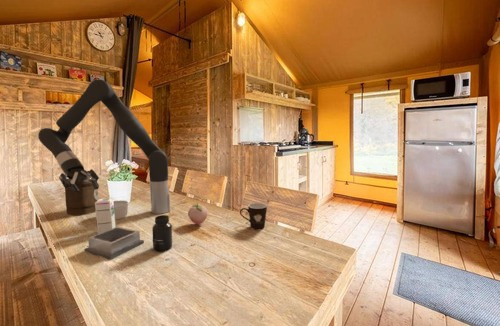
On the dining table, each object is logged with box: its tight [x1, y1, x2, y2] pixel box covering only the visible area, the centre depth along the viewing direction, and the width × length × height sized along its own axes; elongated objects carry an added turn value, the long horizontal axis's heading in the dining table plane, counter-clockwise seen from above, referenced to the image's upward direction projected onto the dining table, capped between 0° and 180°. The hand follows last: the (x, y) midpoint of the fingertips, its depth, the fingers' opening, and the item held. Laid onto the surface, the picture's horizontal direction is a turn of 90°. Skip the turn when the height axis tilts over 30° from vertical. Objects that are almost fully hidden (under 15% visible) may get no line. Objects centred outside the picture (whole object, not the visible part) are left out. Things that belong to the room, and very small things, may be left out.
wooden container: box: [64, 177, 100, 216], centre depth 134 cm, size 15×15×22 cm
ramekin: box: [114, 200, 130, 221], centre depth 126 cm, size 13×13×7 cm
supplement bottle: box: [151, 214, 173, 253], centre depth 91 cm, size 7×7×12 cm
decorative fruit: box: [187, 203, 209, 225], centre depth 115 cm, size 9×8×10 cm
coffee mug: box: [239, 202, 268, 230], centre depth 113 cm, size 12×9×10 cm
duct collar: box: [84, 226, 145, 260], centre depth 92 cm, size 14×14×5 cm
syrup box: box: [95, 197, 117, 234], centre depth 106 cm, size 6×6×14 cm
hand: (88, 190), depth 109 cm, fingers open, 8 cm apart
